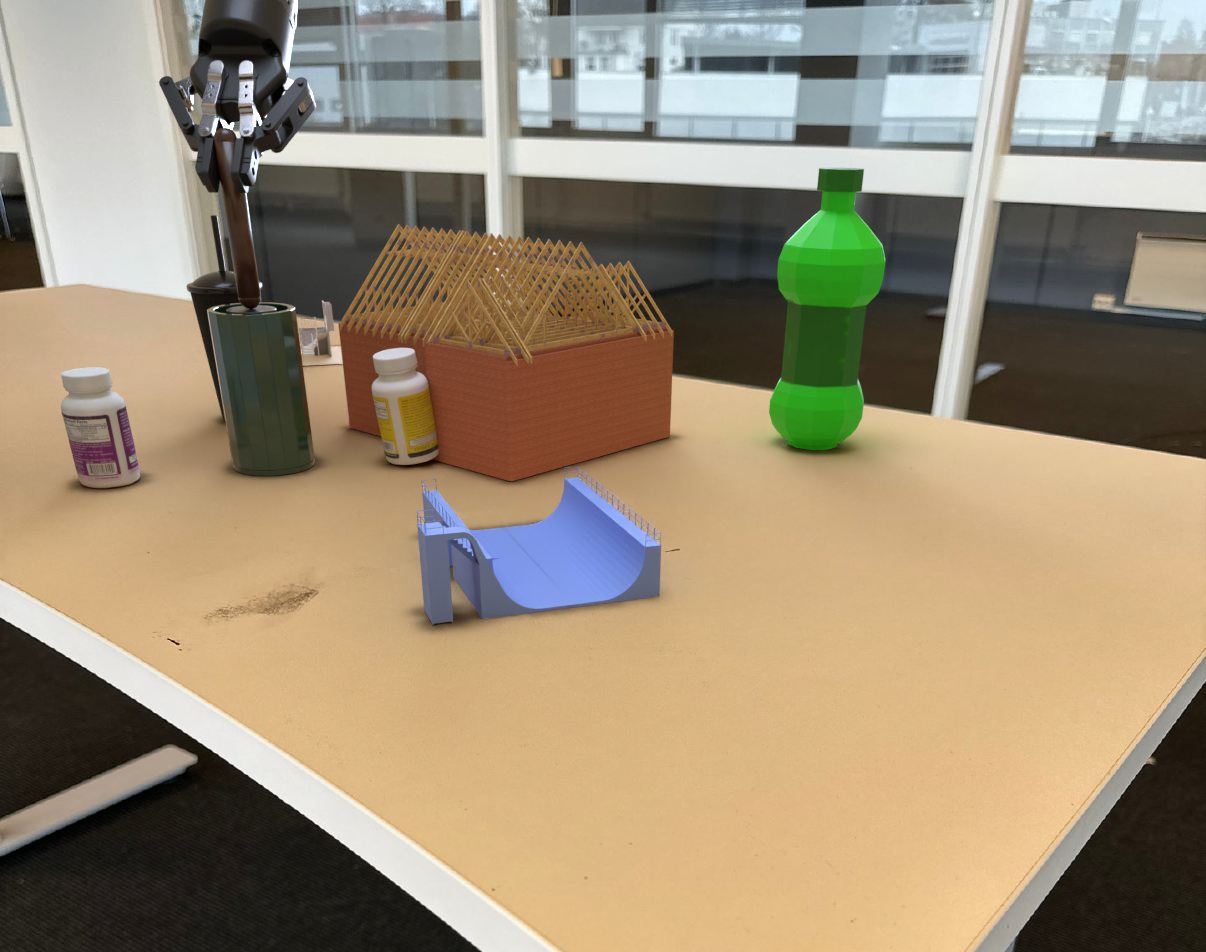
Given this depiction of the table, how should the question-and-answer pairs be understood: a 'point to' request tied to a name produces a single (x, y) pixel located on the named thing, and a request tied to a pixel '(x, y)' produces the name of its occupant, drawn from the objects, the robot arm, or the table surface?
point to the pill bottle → (98, 429)
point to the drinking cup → (213, 301)
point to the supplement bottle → (403, 408)
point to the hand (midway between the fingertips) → (224, 185)
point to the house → (514, 353)
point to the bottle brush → (238, 230)
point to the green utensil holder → (262, 389)
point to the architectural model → (319, 341)
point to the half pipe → (537, 558)
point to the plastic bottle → (826, 316)
